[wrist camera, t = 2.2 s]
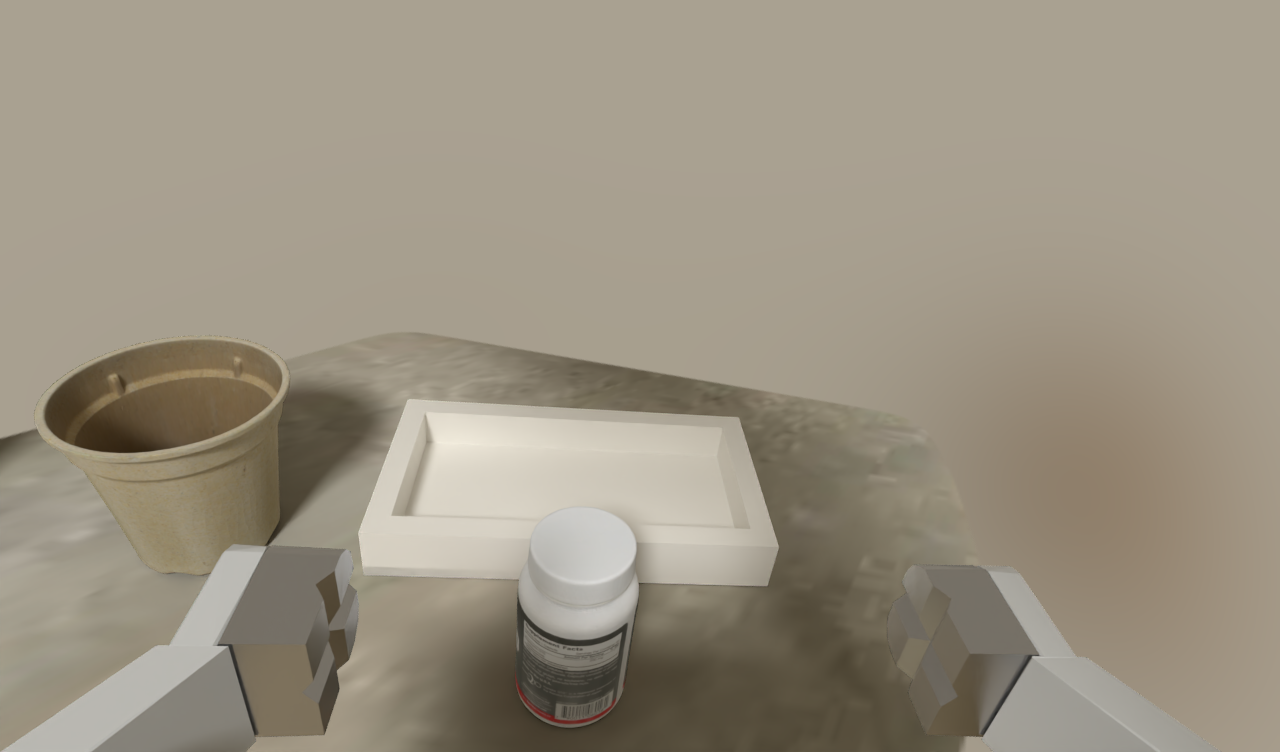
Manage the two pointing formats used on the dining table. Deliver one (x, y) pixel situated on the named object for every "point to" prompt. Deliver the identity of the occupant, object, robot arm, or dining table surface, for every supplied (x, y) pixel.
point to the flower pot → (177, 443)
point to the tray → (566, 491)
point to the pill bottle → (576, 616)
